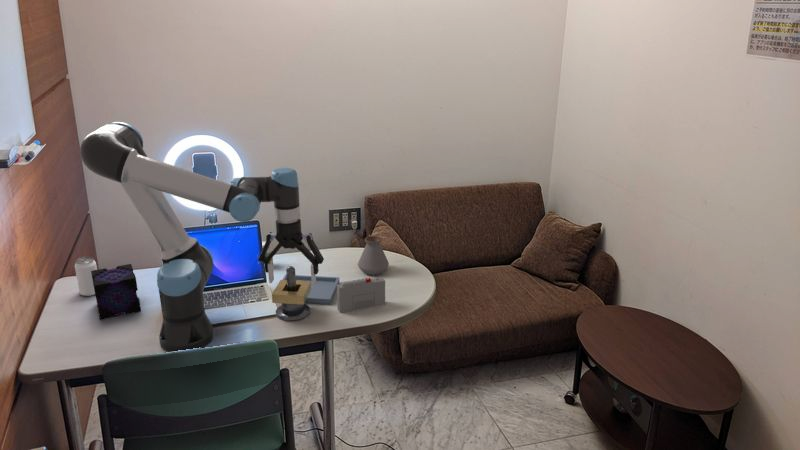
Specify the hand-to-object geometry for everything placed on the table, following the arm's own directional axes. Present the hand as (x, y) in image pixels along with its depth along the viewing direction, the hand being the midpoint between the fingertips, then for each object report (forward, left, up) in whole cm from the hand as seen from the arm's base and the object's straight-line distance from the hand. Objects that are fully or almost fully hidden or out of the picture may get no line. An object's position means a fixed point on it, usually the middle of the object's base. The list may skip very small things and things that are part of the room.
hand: (292, 282), depth 188 cm
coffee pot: (+39, -20, -11) cm, 45 cm away
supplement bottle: (+33, +19, -11) cm, 40 cm away
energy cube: (-3, +57, -11) cm, 59 cm away
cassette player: (+6, -21, -11) cm, 25 cm away
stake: (0, 0, -11) cm, 11 cm away
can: (+6, +72, -11) cm, 74 cm away
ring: (+1, 0, -5) cm, 5 cm away
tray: (+15, -1, -11) cm, 19 cm away
